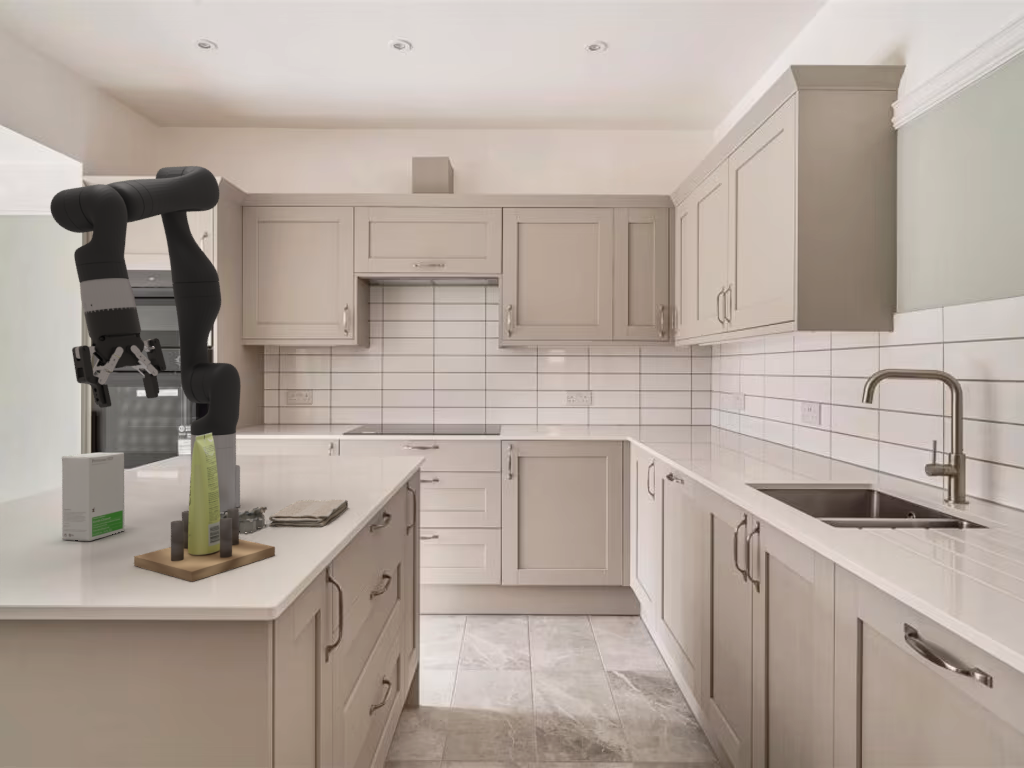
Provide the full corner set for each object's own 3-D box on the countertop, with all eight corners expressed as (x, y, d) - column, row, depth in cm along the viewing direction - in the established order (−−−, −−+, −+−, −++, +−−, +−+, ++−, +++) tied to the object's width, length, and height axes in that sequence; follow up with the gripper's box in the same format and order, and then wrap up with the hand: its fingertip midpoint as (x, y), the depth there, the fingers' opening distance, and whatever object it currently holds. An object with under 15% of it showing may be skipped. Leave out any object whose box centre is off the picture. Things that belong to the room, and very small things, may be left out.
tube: (181, 551, 100) (180, 433, 100) (212, 544, 104) (212, 431, 104) (195, 558, 97) (195, 436, 96) (227, 551, 100) (227, 434, 100)
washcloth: (266, 529, 122) (266, 514, 122) (297, 509, 140) (297, 496, 140) (325, 530, 122) (325, 514, 122) (348, 510, 140) (348, 496, 140)
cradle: (218, 542, 111) (218, 502, 110) (274, 555, 103) (274, 511, 103) (134, 565, 97) (133, 519, 97) (191, 581, 90) (191, 531, 90)
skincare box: (89, 542, 110) (88, 457, 110) (59, 540, 112) (58, 456, 111) (126, 530, 119) (126, 451, 118) (98, 528, 120) (97, 450, 120)
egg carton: (270, 526, 124) (270, 506, 124) (248, 536, 116) (248, 515, 116) (222, 523, 126) (222, 504, 126) (198, 533, 118) (198, 512, 118)
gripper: (81, 307, 94) (103, 409, 96) (163, 303, 107) (181, 393, 109) (51, 313, 97) (73, 412, 99) (134, 308, 110) (152, 396, 112)
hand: (130, 402), depth 104 cm, fingers open, 8 cm apart
